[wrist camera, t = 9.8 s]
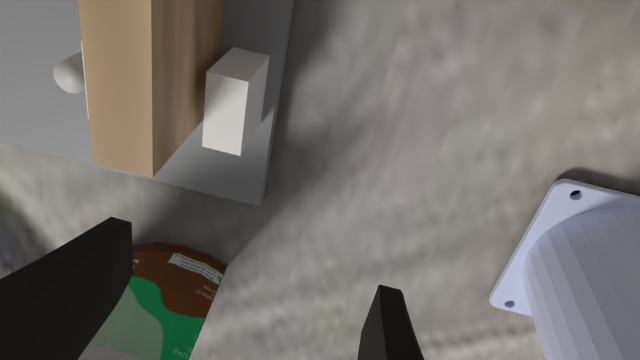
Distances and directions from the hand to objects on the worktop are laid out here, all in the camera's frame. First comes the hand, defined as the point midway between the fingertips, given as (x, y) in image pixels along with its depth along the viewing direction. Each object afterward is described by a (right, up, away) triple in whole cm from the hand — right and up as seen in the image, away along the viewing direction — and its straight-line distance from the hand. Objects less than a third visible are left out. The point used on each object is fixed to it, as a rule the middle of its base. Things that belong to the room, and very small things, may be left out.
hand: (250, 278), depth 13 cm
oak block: (-3, +10, +4) cm, 11 cm away
